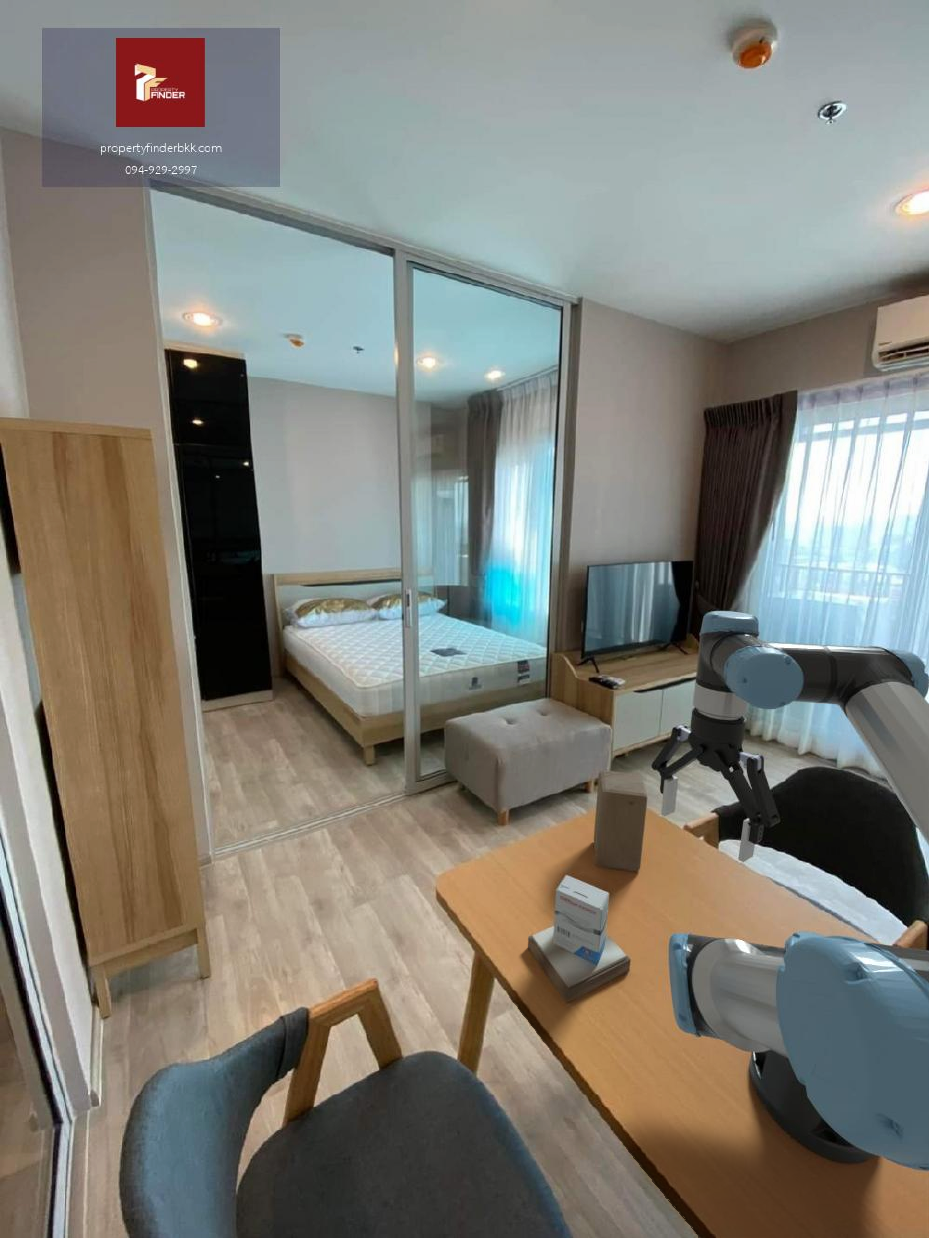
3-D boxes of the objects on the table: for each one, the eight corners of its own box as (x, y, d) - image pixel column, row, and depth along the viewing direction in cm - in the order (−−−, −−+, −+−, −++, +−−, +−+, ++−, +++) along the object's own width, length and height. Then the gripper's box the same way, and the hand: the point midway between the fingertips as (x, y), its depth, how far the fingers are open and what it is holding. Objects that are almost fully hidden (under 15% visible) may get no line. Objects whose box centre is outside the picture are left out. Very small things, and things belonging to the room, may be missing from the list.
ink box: (605, 946, 91) (610, 891, 88) (597, 966, 87) (602, 910, 84) (561, 925, 95) (565, 872, 93) (551, 943, 91) (555, 889, 88)
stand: (629, 970, 89) (630, 956, 89) (567, 1003, 83) (568, 988, 83) (586, 921, 100) (586, 908, 99) (527, 947, 94) (528, 934, 93)
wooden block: (640, 874, 113) (648, 796, 108) (595, 867, 115) (601, 790, 110) (634, 845, 122) (642, 772, 118) (593, 839, 124) (598, 768, 120)
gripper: (821, 735, 68) (798, 871, 72) (665, 684, 89) (654, 791, 93) (793, 748, 64) (771, 890, 68) (637, 691, 85) (627, 803, 89)
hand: (704, 834), depth 80 cm, fingers open, 13 cm apart
